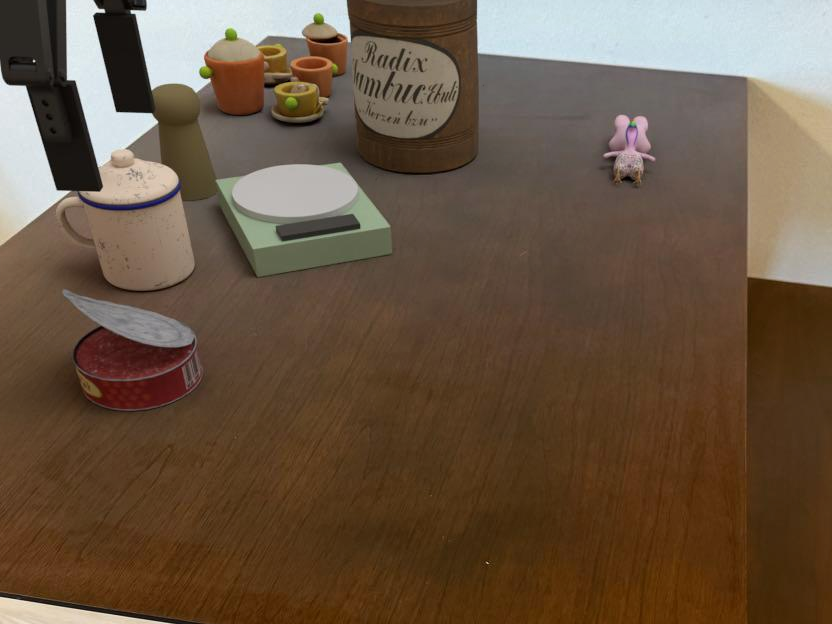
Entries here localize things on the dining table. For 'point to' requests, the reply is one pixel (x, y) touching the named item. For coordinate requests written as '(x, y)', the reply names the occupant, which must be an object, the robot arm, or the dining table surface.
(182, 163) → the pepper mill
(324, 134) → the dining table surface
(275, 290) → the dining table surface
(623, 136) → the pink plush toy
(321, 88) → the toy tea set
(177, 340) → the canned food
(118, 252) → the teacup with lid
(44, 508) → the dining table surface
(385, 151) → the wooden container
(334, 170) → the kitchen scale
